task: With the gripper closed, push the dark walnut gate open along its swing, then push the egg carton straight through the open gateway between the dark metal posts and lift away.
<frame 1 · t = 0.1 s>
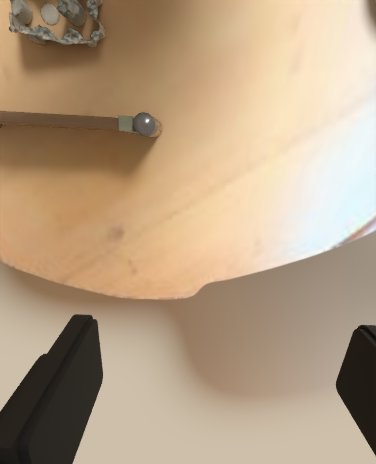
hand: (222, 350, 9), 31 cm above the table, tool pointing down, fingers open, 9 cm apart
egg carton: (64, 14, 31), on the table
gate: (61, 121, 31), point 4 cm above the table, hinge at 0.0°
gate posts: (74, 124, 35), on the table
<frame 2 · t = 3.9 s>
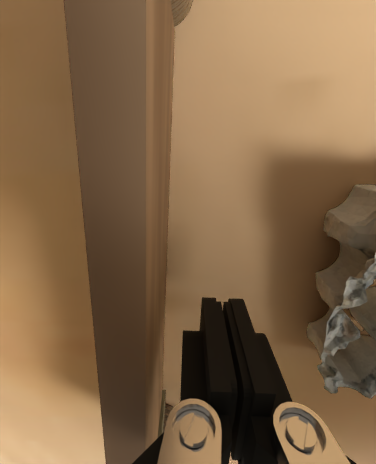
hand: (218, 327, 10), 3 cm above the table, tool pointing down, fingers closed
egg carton: (374, 273, 13), on the table
gate: (143, 317, 9), point 4 cm above the table, hinge at 1.5°, touching gripper
gate posts: (161, 268, 13), on the table
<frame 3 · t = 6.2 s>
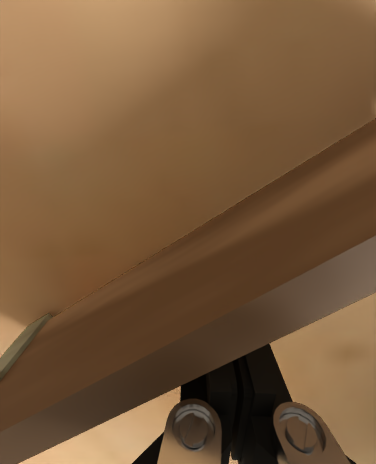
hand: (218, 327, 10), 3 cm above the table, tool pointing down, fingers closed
gate: (190, 283, 8), point 4 cm above the table, hinge at 54.4°, touching gripper
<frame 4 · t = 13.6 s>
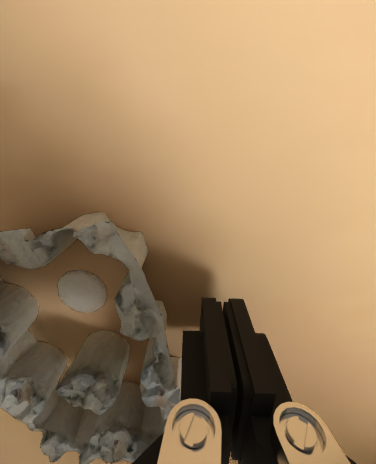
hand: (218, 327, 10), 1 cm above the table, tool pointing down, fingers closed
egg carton: (102, 314, 12), on the table, touching gripper
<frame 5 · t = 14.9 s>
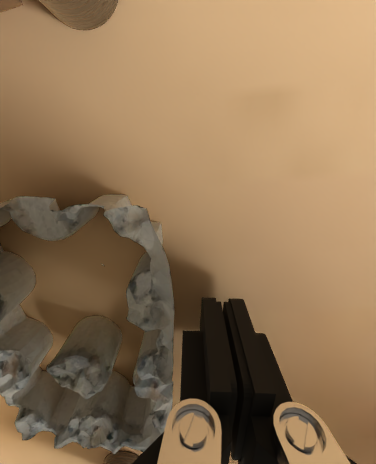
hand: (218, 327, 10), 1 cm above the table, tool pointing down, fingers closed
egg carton: (100, 297, 11), on the table
gate posts: (109, 308, 11), on the table
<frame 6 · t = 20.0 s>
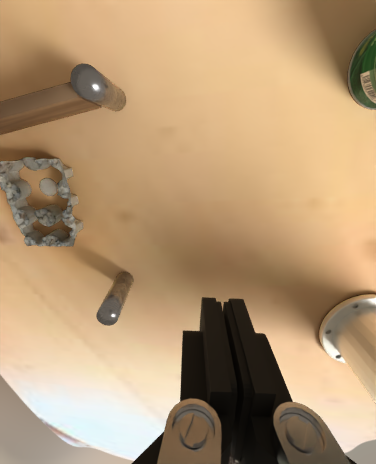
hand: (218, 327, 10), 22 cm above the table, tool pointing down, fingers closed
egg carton: (55, 199, 31), on the table
gate posts: (120, 200, 31), on the table
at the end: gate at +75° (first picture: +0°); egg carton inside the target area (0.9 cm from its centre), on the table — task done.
